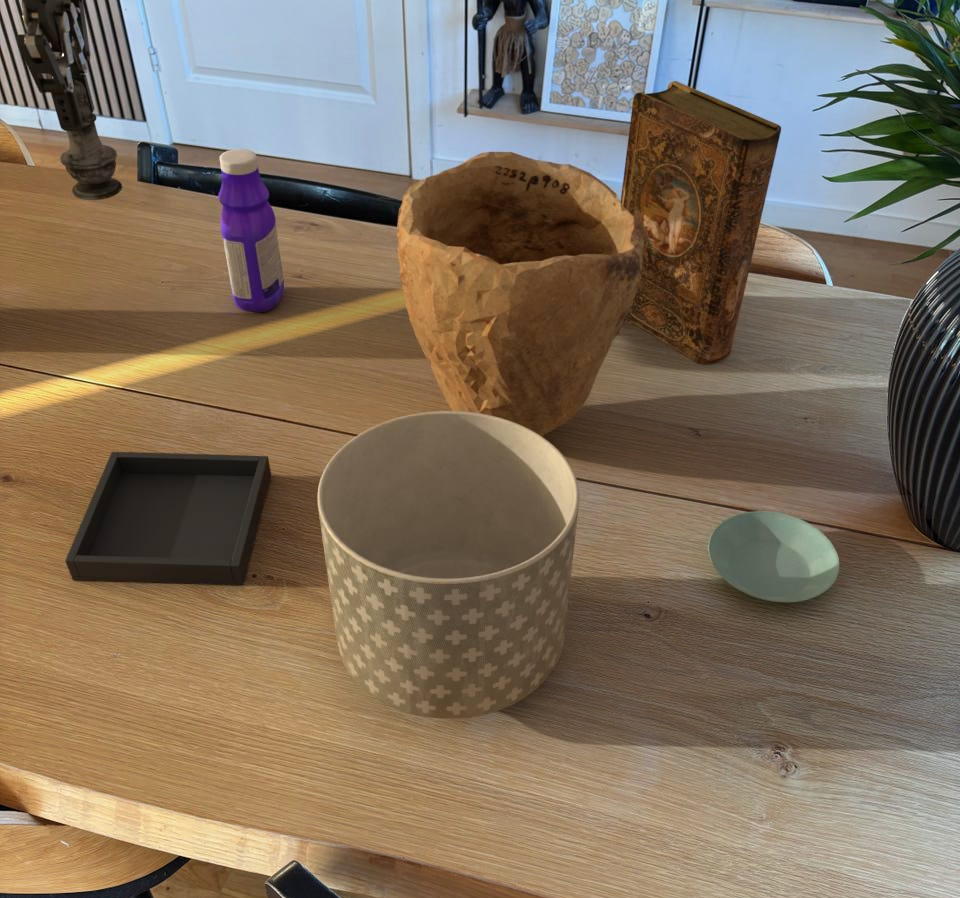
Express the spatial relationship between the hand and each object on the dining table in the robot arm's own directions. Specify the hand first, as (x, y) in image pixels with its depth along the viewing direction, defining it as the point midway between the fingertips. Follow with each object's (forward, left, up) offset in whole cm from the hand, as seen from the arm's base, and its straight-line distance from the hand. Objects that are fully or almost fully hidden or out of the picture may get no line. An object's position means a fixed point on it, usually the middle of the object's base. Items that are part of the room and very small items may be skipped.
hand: (78, 120), depth 106 cm
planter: (+41, -52, -22) cm, 70 cm away
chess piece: (0, 0, -7) cm, 7 cm away
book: (+65, 0, -22) cm, 69 cm away
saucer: (+70, -41, -22) cm, 84 cm away
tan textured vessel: (+46, -21, -22) cm, 56 cm away
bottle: (+15, +4, -22) cm, 27 cm away
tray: (+14, -37, -22) cm, 46 cm away
